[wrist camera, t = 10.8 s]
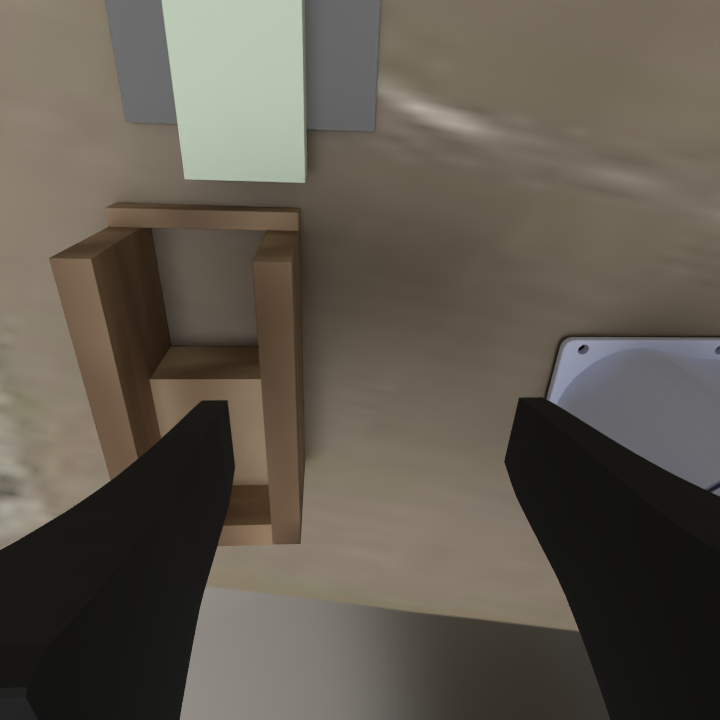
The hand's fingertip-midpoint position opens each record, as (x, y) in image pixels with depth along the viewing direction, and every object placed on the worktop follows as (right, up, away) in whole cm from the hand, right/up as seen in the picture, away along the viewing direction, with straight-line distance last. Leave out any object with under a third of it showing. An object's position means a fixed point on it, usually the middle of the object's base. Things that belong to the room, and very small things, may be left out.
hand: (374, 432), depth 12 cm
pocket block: (-7, +2, +10) cm, 12 cm away
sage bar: (-4, +13, +4) cm, 15 cm away
